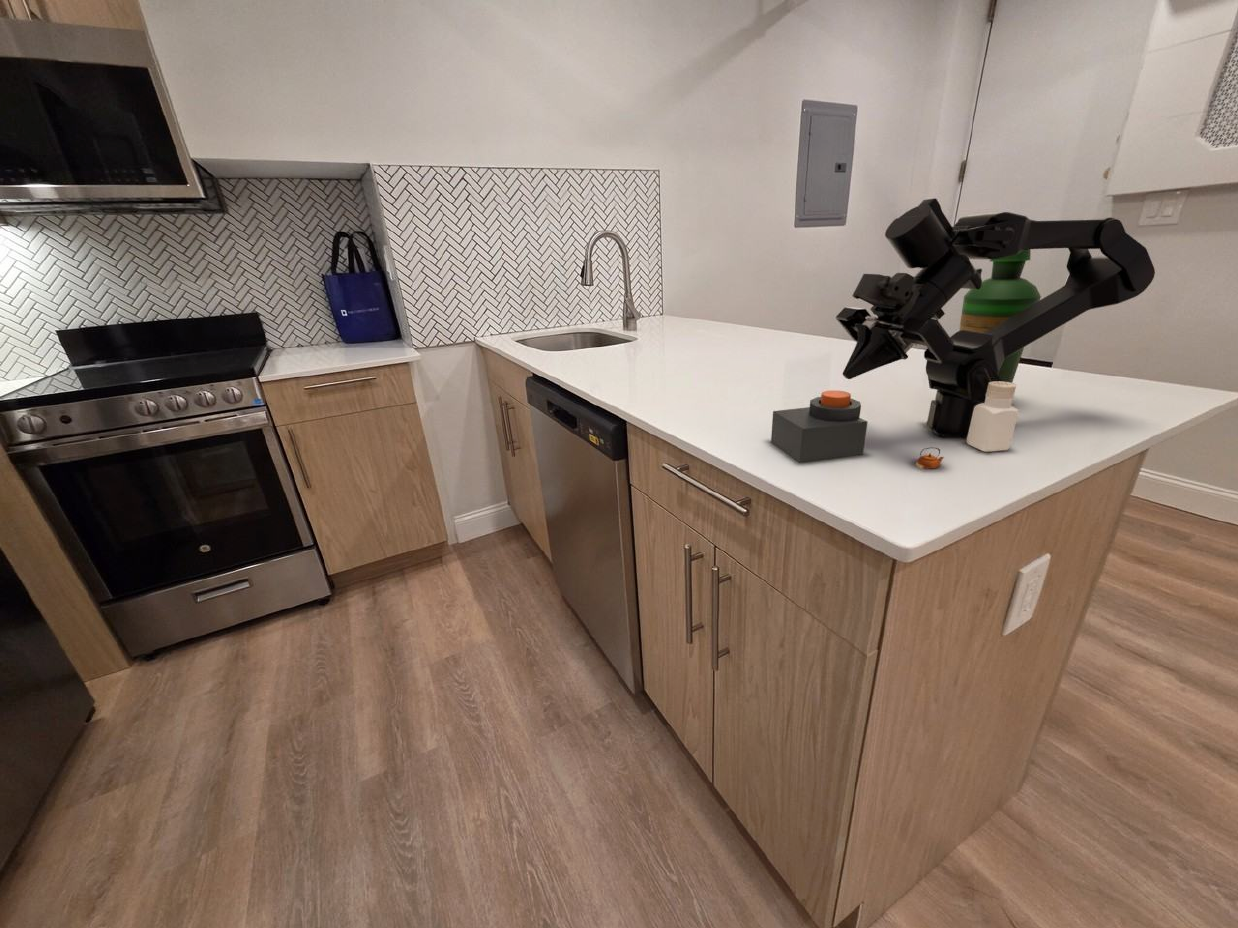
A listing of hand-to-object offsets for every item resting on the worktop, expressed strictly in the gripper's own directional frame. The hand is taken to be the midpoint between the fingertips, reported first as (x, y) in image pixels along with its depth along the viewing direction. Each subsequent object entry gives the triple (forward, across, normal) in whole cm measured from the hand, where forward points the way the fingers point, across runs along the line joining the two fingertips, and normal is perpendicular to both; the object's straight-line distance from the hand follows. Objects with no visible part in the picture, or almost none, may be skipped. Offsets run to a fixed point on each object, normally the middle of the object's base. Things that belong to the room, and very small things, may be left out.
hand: (845, 376), depth 73 cm
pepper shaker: (-6, +7, +21) cm, 23 cm away
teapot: (+3, +10, +13) cm, 17 cm away
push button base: (+10, 0, +5) cm, 11 cm away
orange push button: (+4, 0, +2) cm, 4 cm away
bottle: (-18, -12, +33) cm, 39 cm away
